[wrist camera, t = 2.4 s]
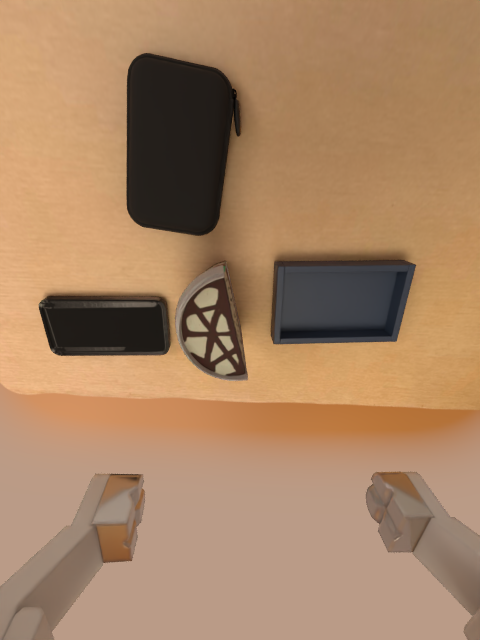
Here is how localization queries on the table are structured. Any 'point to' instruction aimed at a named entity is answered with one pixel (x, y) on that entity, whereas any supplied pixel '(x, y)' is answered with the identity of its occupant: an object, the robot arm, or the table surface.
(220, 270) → the food container
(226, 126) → the carrying case
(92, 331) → the phone
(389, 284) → the tray
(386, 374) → the table surface
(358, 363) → the table surface
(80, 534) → the robot arm
